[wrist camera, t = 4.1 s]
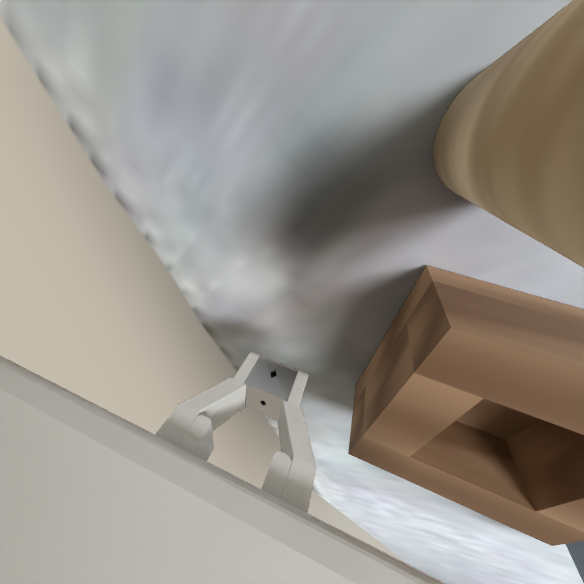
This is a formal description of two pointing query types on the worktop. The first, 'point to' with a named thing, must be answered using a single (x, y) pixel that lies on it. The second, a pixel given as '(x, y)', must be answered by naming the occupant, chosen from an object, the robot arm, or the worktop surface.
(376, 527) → the worktop surface
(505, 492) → the block
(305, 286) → the worktop surface
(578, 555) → the wall
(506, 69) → the dowel
